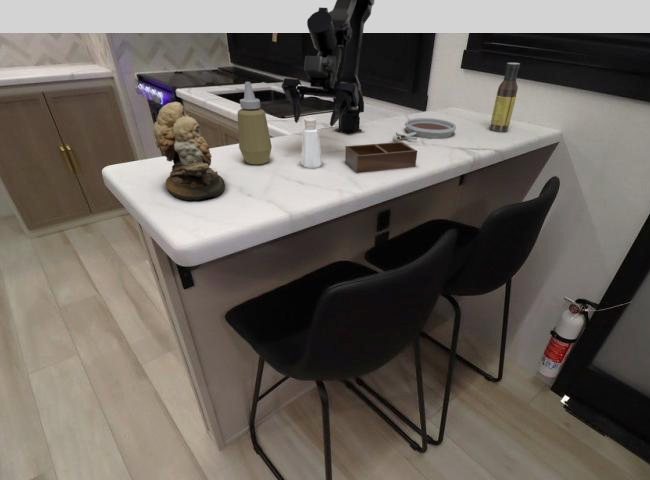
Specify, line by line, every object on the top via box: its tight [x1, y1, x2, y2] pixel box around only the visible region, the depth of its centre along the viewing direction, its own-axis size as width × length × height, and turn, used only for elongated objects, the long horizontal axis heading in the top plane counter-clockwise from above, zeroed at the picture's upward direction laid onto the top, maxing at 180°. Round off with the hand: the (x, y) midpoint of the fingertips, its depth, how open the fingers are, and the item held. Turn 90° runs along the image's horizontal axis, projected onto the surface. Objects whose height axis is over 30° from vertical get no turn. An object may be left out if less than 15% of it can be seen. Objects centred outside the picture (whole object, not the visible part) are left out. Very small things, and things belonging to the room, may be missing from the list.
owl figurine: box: [152, 101, 226, 201], centre depth 78 cm, size 18×12×17 cm, turn 34°
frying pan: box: [391, 117, 457, 142], centre depth 122 cm, size 17×3×28 cm
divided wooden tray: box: [344, 141, 418, 174], centre depth 98 cm, size 9×16×4 cm, turn 111°
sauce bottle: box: [489, 62, 521, 133], centre depth 125 cm, size 6×6×20 cm
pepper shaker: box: [300, 117, 323, 169], centre depth 94 cm, size 5×5×11 cm
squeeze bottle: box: [237, 81, 272, 165], centre depth 92 cm, size 8×8×18 cm
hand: (313, 123), depth 93 cm, fingers open, 9 cm apart
